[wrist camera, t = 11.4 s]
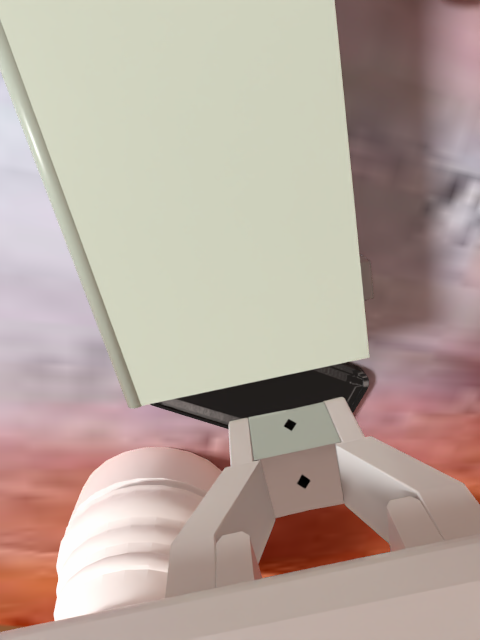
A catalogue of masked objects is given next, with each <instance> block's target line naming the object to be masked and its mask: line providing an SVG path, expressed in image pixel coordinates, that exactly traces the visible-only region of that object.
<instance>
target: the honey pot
mask: <svg viewBox="0 0 480 640" xmlns="http://www.w3.org/2000/svg"><path fill="white" fill-rule="evenodd" d="M221 473H222V471H221V470H220V469H219V468H218V467H216V466H215V465H214V464H213V463H211V462H210V461H209V460H207V459H205V458H203V457H200V456H198V455H196V454H194V453H192V452H189V451H184V450H180V449H175V448H170V447H145V448H140V449H135V450H131V451H126V452H123V453H121V454H119V455H117V456H115V457H113V458H111V459H109V460H107V461H105V462H104V463H103V464H102V465H101V466H100V467H98V468H97V469H96V470H95V471H94V472H93V473H92V474H91V475H90V477H89V479H88V480H87V482H86V484H85V485H84V487H83V489H82V491H81V494H80V496H79V499H78V501H77V504H76V506H75V508H74V511H73V513H72V516H71V518H70V521H69V525H68V527H67V528H66V532H65V536H64V538H63V539H62V541H61V545H60V550H59V555H58V560H57V566H56V567H57V573H58V578H59V579H58V584H57V590H56V594H57V601H56V606H55V610H54V619H55V621H57V620H62V619H67V618H71V617H76V616H81V615H86V614H91V613H96V612H101V611H105V610H110V609H115V608H120V607H125V606H130V605H135V604H139V603H144V602H149V601H154V600H159V599H164V598H165V593H166V584H167V575H168V566H169V557H170V548H171V544H172V542H173V541H174V539H175V538H176V536H177V535H178V534H179V532H180V531H181V529H182V528H183V526H184V525H185V524H186V522H187V521H188V519H189V518H190V517H191V515H192V514H193V512H194V511H195V509H196V508H197V507H198V505H199V504H200V502H201V501H202V500H203V498H204V497H205V495H206V494H207V492H208V491H209V490H210V488H211V487H212V485H213V484H214V483H215V481H216V480H217V478H218V477H219V475H220V474H221Z"/></svg>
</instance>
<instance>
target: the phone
mask: <svg viewBox="0 0 480 640" xmlns="http://www.w3.org/2000/svg"><path fill="white" fill-rule="evenodd" d="M368 386H369V380H368V377H367V376H366V374H365V373H364V371H363V370H362V369H361V368H359V367H357V366H355V365H352V364H349V363H348V362H346V363H341V364H336V365H332V366H327V367H322V368H317V369H313V370H308V371H303V372H299V373H294V374H289V375H284V376H280V377H275V378H270V379H266V380H261V381H256V382H252V383H247V384H242V385H237V386H233V387H228V388H223V389H219V390H214V391H209V392H204V393H200V394H195V395H190V396H186V397H181V398H176V399H172V400H167V401H162V402H157V403H153V404H150V405H152V406H156V407H159V408H162V409H165V410H169V411H172V412H175V413H178V414H182V415H185V416H188V417H191V418H194V419H198V420H201V421H204V422H207V423H211V424H214V425H217V426H220V427H224V428H227V429H229V427H228V425H229V421H234V420H239V419H243V418H249V417H253V416H258V415H263V414H268V413H273V412H278V411H283V410H290V409H294V408H299V407H303V406H308V405H312V404H317V403H321V402H323V401H327V400H331V399H335V398H339V397H343V398H345V400H346V402H347V404H348V406H349V408H350V410H351V411H352V413H353V412H354V410H355V409H356V407H357V405H358V404H359V402H360V400H361V399H362V397H363V395H364V394H365V392H366V390H367V388H368Z"/></svg>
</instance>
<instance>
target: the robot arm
mask: <svg viewBox="0 0 480 640" xmlns="http://www.w3.org/2000/svg"><path fill="white" fill-rule="evenodd" d="M228 427H229V446H230V464H231V466H230V467H226V468H224V470H223V471H222V473H221V474H220V475H219V477H218V478H217V480H216V481H215V483H214V484H213V485H212V487H211V488H210V490H209V491H208V492H207V494H206V495H205V497H204V498H203V500H202V501H201V502H200V504H199V505H198V507H197V508H196V509H195V511H194V512H193V514H192V515H191V517H190V518H189V519H188V521H187V522H186V524H185V525H184V526H183V528H182V529H181V531H180V532H179V534H178V535H177V536H176V538H175V539H174V541H173V542H172V544H171V548H170V557H169V566H168V575H167V584H166V593H165V598H164V599H159V600H154V601H149V602H144V603H139V604H135V605H130V606H125V607H120V608H115V609H110V610H105V611H101V612H96V613H91V614H86V615H81V616H76V617H71V618H67V619H62V620H57V621H52V622H47V623H42V624H37V625H33V626H28V627H23V628H18V629H13V630H9V631H4V632H0V640H480V505H479V503H478V502H477V501H476V499H475V498H474V497H473V495H472V494H471V493H470V491H469V490H468V489H467V487H466V486H465V485H464V483H462V482H460V481H458V480H456V479H454V478H452V477H450V476H448V475H446V474H444V473H442V472H440V471H438V470H436V469H434V468H432V467H430V466H428V465H426V464H424V463H422V462H421V461H419V460H417V459H415V458H413V457H411V456H409V455H407V454H405V453H403V452H401V451H399V450H397V449H395V448H393V447H391V446H389V445H387V444H385V443H383V442H381V441H379V440H378V439H376V438H374V437H372V436H370V437H365V436H364V434H363V432H362V430H361V428H360V426H359V425H358V423H357V421H356V419H355V417H354V415H353V413H352V411H351V410H350V408H349V406H348V404H347V402H346V400H345V398H343V397H339V398H335V399H331V400H327V401H323V402H321V403H317V404H312V405H308V406H303V407H299V408H294V409H290V410H283V411H278V412H273V413H268V414H263V415H258V416H253V417H249V418H243V419H239V420H234V421H229V425H228ZM340 504H345V506H346V507H348V508H349V509H350V510H351V511H352V512H353V513H354V514H356V515H357V516H358V517H359V518H360V519H361V520H363V521H364V522H365V523H366V524H367V525H368V526H369V527H371V528H372V529H373V530H374V531H375V532H376V533H378V534H379V535H380V536H381V537H382V538H383V539H384V540H386V541H387V542H388V543H389V544H390V551H391V552H387V553H382V554H377V555H372V556H367V557H363V558H358V559H353V560H348V561H343V562H338V563H334V564H329V565H324V566H319V567H314V568H309V569H304V570H300V571H295V572H290V573H285V574H280V575H275V576H270V577H266V578H262V576H261V573H260V569H259V566H258V563H259V561H260V558H261V556H262V553H263V551H264V548H265V546H266V543H267V541H268V538H269V536H270V533H271V531H272V528H273V525H274V523H275V518H278V517H282V516H286V515H290V514H295V513H299V512H303V511H307V510H312V509H318V508H323V507H329V506H334V505H340Z"/></svg>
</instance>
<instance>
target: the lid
mask: <svg viewBox="0 0 480 640" xmlns="http://www.w3.org/2000/svg"><path fill="white" fill-rule="evenodd" d="M0 71H1V74H2V76H3V79H4V82H5V84H6V87H7V89H8V92H9V95H10V97H11V100H12V103H13V105H14V108H15V110H16V113H17V116H18V118H19V121H20V124H21V126H22V129H23V131H24V134H25V137H26V139H27V142H28V145H29V147H30V150H31V152H32V155H33V158H34V160H35V163H36V165H37V168H38V171H39V173H40V176H41V179H42V181H43V184H44V186H45V189H46V192H47V194H48V197H49V200H50V202H51V205H52V207H53V210H54V213H55V215H56V218H57V221H58V223H59V226H60V228H61V231H62V234H63V236H64V239H65V242H66V244H67V247H68V249H69V252H70V255H71V257H72V260H73V263H74V265H75V268H76V270H77V273H78V276H79V278H80V281H81V284H82V286H83V289H84V291H85V294H86V297H87V299H88V302H89V305H90V307H91V310H92V312H93V315H94V318H95V320H96V323H97V326H98V328H99V331H100V333H101V336H102V339H103V341H104V344H105V347H106V349H107V352H108V354H109V357H110V360H111V362H112V365H113V368H114V370H115V373H116V375H117V378H118V381H119V383H120V386H121V389H122V391H123V394H124V396H125V399H126V402H127V404H128V407H129V408H138V407H140V406H143V405H148V404H153V403H157V402H162V401H167V400H172V399H176V398H181V397H186V396H190V395H195V394H200V393H204V392H209V391H214V390H219V389H223V388H228V387H233V386H237V385H242V384H247V383H252V382H256V381H261V380H266V379H270V378H275V377H280V376H284V375H289V374H294V373H299V372H303V371H308V370H313V369H317V368H322V367H327V366H332V365H336V364H341V363H346V362H350V361H355V360H360V359H364V358H369V348H368V337H367V327H366V317H365V307H364V296H363V286H362V276H361V266H360V256H359V245H358V235H357V225H356V215H355V204H354V194H353V184H352V174H351V164H350V153H349V143H348V133H347V123H346V112H345V102H344V92H343V82H342V71H341V61H340V51H339V41H338V31H337V20H336V10H335V0H0Z"/></svg>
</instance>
